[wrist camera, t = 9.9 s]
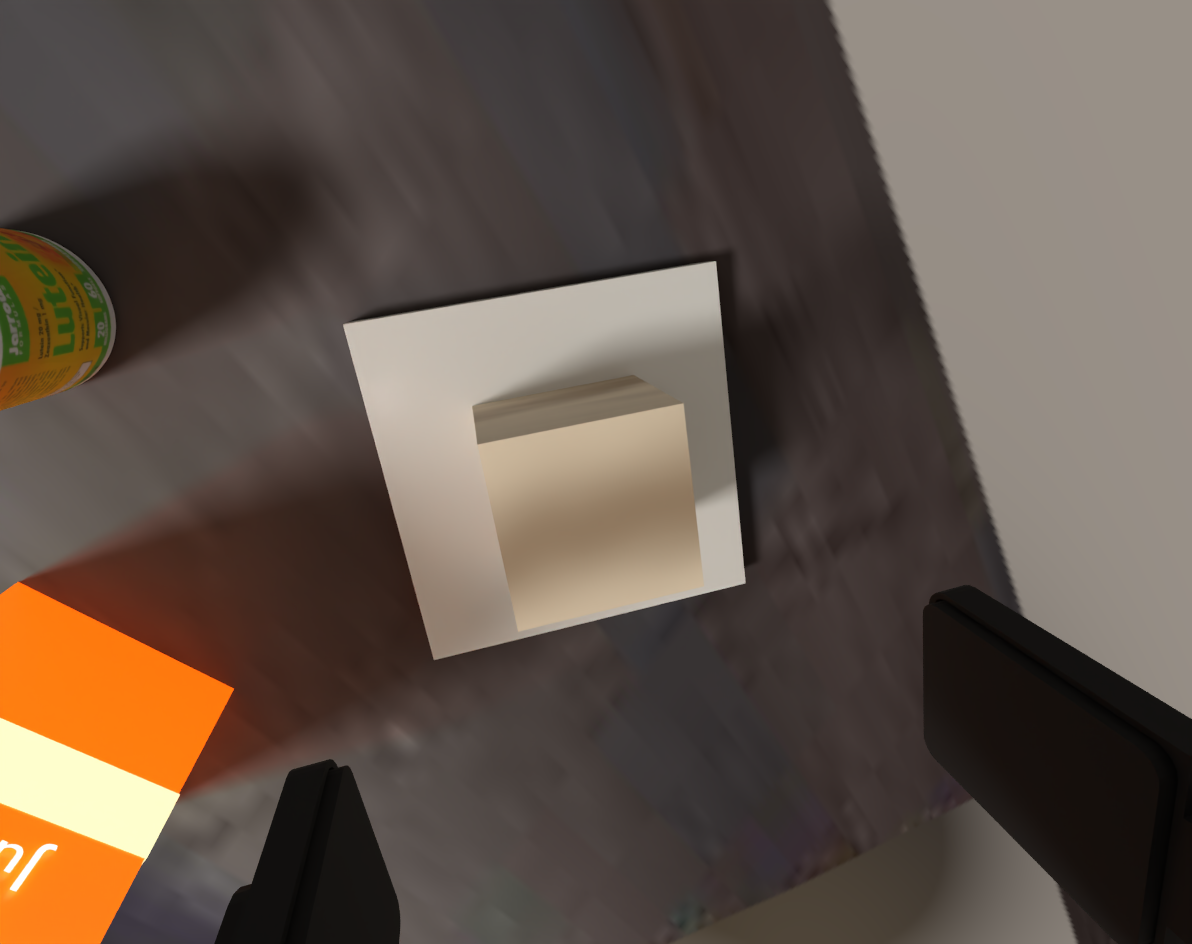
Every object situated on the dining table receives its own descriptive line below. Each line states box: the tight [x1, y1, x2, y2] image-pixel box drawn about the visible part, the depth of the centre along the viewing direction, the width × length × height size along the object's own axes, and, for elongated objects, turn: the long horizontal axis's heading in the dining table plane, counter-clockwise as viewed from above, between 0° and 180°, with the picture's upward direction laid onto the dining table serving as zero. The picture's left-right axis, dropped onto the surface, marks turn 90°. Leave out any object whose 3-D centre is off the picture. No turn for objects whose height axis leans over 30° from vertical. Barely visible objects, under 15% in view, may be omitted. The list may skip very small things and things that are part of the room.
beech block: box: [472, 375, 704, 632], centre depth 24 cm, size 6×6×6 cm
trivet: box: [343, 261, 745, 660], centre depth 27 cm, size 14×14×1 cm
